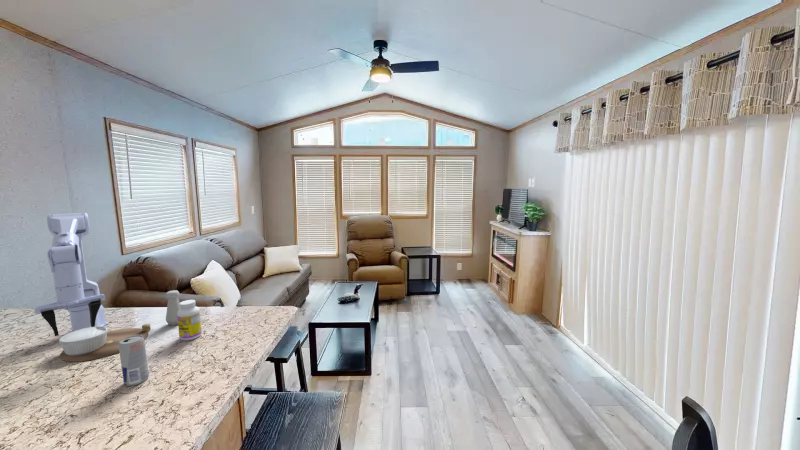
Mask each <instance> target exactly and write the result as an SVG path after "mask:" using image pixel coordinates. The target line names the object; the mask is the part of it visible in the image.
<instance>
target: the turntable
mask: <svg viewBox="0 0 800 450" xmlns="http://www.w3.org/2000/svg"><path fill="white" fill-rule="evenodd" d="M150 331H151V324H150V323H144V324H142V325H141V327H130V328H119V329H113V330H110V331H109V330H108V332H107V338H106V343H105V344H104V346H103V347H101V348H100V349H98V350H95V351H93V352H90V353H87V354H83V355H76V356H71V355H67V354H66V353H65V352H64V350H63V349H62V351H61V352H60V354H59V357H60V360H62V361H64V362H71V363H73V362H75V363H77V362H79V363H80V362H87V361H94V360H99V359H102V358H107V357H111V356H113V355H117V354H120V352H119V342H120V341H121V340H122V339H124V338H127V337H130V336H135V335H142V336H143V338H144V340H147V338H148V336H149V332H150Z"/></svg>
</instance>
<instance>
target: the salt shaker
mask: <svg viewBox="0 0 800 450" xmlns="http://www.w3.org/2000/svg"><path fill="white" fill-rule="evenodd" d="M179 296H180V292H179V291H178V290H177V289H176V290H175V289H173V290H169V291H167V292H166V293H165V298H166V299H167V305H166V314H165V321H166V323H167V325H168V326H170V327H171V326H172V327H174V326H178V319H177V312H178V311H179V310H180V309H181V308H180V305H179V304H180V302H181V301H180V300H179Z"/></svg>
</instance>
